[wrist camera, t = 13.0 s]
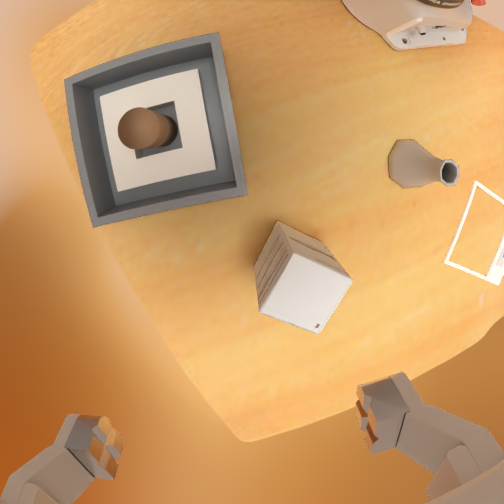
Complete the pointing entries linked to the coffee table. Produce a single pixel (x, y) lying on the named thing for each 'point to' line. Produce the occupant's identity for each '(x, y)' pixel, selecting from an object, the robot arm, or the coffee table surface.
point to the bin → (160, 158)
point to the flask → (419, 166)
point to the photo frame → (500, 263)
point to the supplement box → (299, 279)
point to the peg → (146, 129)
